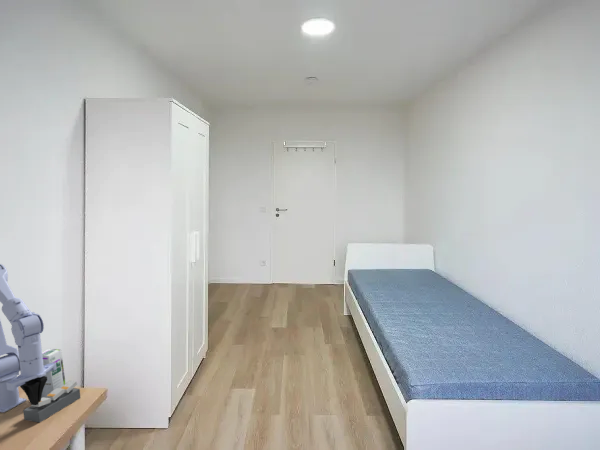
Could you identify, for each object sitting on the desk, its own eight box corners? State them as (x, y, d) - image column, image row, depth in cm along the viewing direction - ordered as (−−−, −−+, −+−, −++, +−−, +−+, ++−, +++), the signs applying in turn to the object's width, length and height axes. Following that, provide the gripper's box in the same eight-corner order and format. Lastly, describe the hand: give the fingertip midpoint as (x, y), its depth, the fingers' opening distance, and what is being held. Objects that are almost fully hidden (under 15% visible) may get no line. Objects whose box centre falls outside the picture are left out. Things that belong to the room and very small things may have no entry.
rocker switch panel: (24, 419, 131) (22, 407, 131) (65, 395, 145) (64, 384, 145) (39, 422, 129) (38, 410, 129) (80, 397, 143) (79, 386, 143)
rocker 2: (46, 399, 135) (45, 395, 135) (57, 391, 139) (56, 387, 138) (54, 400, 134) (53, 396, 134) (64, 392, 138) (63, 388, 137)
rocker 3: (60, 392, 140) (59, 388, 139) (70, 383, 143) (69, 380, 143) (67, 393, 139) (66, 389, 138) (77, 384, 142) (76, 381, 142)
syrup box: (54, 399, 143) (49, 355, 141) (38, 398, 144) (33, 355, 143) (66, 391, 148) (62, 348, 147) (51, 390, 150) (46, 348, 148)
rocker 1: (31, 405, 130) (31, 401, 130) (43, 401, 134) (43, 397, 134) (38, 406, 129) (38, 402, 129) (50, 402, 133) (50, 398, 133)
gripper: (18, 369, 121) (23, 417, 122) (62, 349, 134) (67, 393, 135) (-1, 367, 123) (4, 414, 124) (44, 348, 136) (49, 391, 138)
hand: (35, 403), depth 130 cm, fingers closed, pressing on rocker 1
